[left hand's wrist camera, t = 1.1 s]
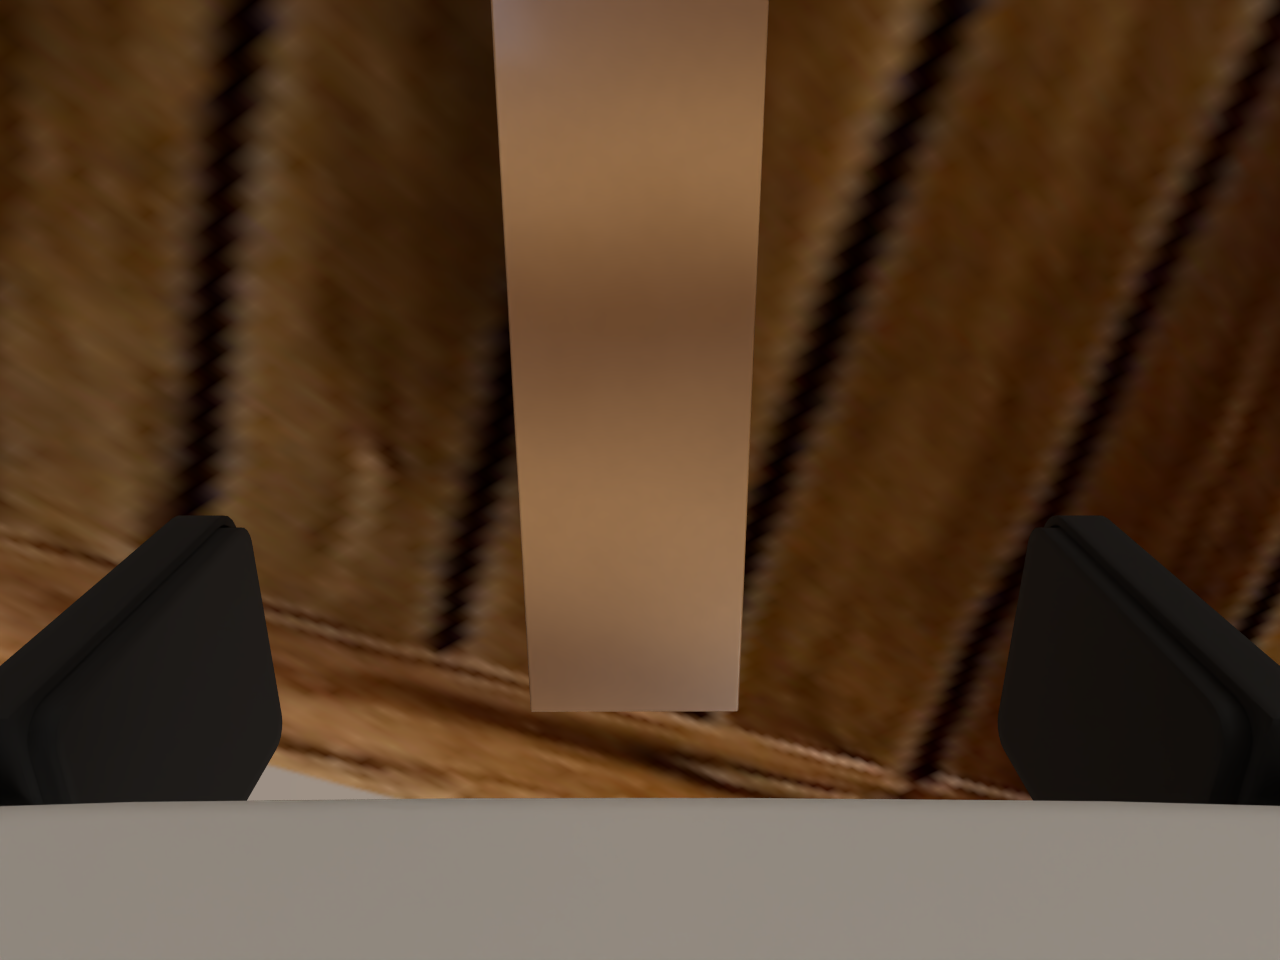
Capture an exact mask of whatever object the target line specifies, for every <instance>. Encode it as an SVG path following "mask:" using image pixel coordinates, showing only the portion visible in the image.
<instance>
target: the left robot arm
mask: <svg viewBox="0 0 1280 960" xmlns="http://www.w3.org/2000/svg"><path fill="white" fill-rule="evenodd" d="M281 731H282V714H281V708H280V702H279V697H278V691H277V685H276V679H275V673H274V668H273V662H272V656H271V650H270V645H269V639H268V633H267V627H266V621H265V616H264V610H263V604H262V598H261V593H260V587H259V581H258V575H257V570H256V564H255V558H254V552H253V546H252V541H251V538H250V535H249V533H248V531H247V530H246V529H245V528H236V526H235V524H234V522H233V520H232V519H230V518H229V517H228V516H176V517H174V518H173V519H171V520H170V521H169V522H168V523H167V524H165V525H164V526H163V527H162V528H161V529H160V530H158V531H157V532H156V533H155V534H154V535H153V536H151V537H150V538H149V539H148V540H147V541H146V542H144V543H143V544H142V545H141V546H140V547H139V548H137V549H136V550H135V551H134V552H133V553H132V554H130V555H129V556H128V557H127V558H126V559H125V560H123V561H122V562H121V563H120V564H119V565H118V566H116V567H115V568H114V569H113V570H112V571H111V572H109V573H108V574H107V575H106V576H105V577H104V578H102V579H101V580H100V581H99V582H98V583H97V584H95V585H94V586H93V587H92V588H91V589H90V590H88V591H87V592H86V593H85V594H84V595H83V596H81V597H80V598H79V599H78V600H77V601H76V602H74V603H73V604H72V605H71V606H70V607H69V608H67V609H66V610H65V611H64V612H63V613H62V614H60V615H59V616H58V617H57V618H56V619H55V620H53V621H52V622H51V623H50V624H49V625H48V626H46V627H45V628H44V629H43V630H42V631H41V632H39V633H38V634H37V635H36V636H35V637H34V638H32V639H31V640H30V641H29V642H28V643H27V644H25V645H24V646H23V647H22V648H21V649H20V650H18V651H17V652H16V653H15V654H14V655H13V656H11V657H10V658H9V659H8V660H7V661H6V662H4V663H3V664H2V665H1V666H0V960H1280V666H1279V665H1278V664H1277V663H1276V662H1274V661H1273V660H1272V659H1271V658H1270V657H1269V656H1267V655H1266V654H1265V653H1264V652H1263V651H1262V650H1260V649H1259V648H1258V647H1257V646H1256V645H1255V644H1253V643H1252V642H1251V641H1250V640H1249V639H1248V638H1246V637H1245V636H1244V635H1243V634H1242V633H1241V632H1239V631H1238V630H1237V629H1236V628H1235V627H1234V626H1232V625H1231V624H1230V623H1229V622H1228V621H1227V620H1225V619H1224V618H1223V617H1222V616H1221V615H1220V614H1218V613H1217V612H1216V611H1215V610H1214V609H1213V608H1211V607H1210V606H1209V605H1208V604H1207V603H1206V602H1204V601H1203V600H1202V599H1201V598H1200V597H1199V596H1197V595H1196V594H1195V593H1194V592H1193V591H1192V590H1190V589H1189V588H1188V587H1187V586H1186V585H1185V584H1183V583H1182V582H1181V581H1180V580H1179V579H1178V578H1176V577H1175V576H1174V575H1173V574H1172V573H1171V572H1169V571H1168V570H1167V569H1166V568H1165V567H1164V566H1162V565H1161V564H1160V563H1159V562H1158V561H1157V560H1155V559H1154V558H1153V557H1152V556H1151V555H1150V554H1148V553H1147V552H1146V551H1145V550H1144V549H1143V548H1141V547H1140V546H1139V545H1138V544H1137V543H1136V542H1134V541H1133V540H1132V539H1131V538H1130V537H1129V536H1127V535H1126V534H1125V533H1124V532H1123V531H1122V530H1120V529H1119V528H1118V527H1117V526H1116V525H1115V524H1113V523H1112V522H1111V521H1110V520H1109V519H1107V518H1106V517H1104V516H1052V517H1051V518H1050V519H1048V520H1047V522H1046V524H1045V526H1044V528H1035V529H1034V530H1033V531H1032V533H1031V535H1030V538H1029V541H1028V546H1027V552H1026V558H1025V564H1024V570H1023V575H1022V581H1021V587H1020V593H1019V598H1018V604H1017V610H1016V616H1015V621H1014V627H1013V633H1012V639H1011V645H1010V650H1009V656H1008V662H1007V668H1006V673H1005V679H1004V685H1003V691H1002V696H1001V702H1000V708H999V714H998V731H999V737H1000V741H1001V744H1002V746H1003V749H1004V751H1005V752H1006V754H1007V756H1008V758H1009V759H1010V761H1011V763H1012V764H1013V766H1014V768H1015V770H1016V771H1017V773H1018V775H1019V777H1020V778H1021V780H1022V782H1023V784H1024V785H1025V787H1026V789H1027V790H1028V792H1029V794H1030V796H1031V797H1032V799H1033V801H1011V800H895V799H779V798H462V799H368V800H277V801H276V800H275V801H247V799H248V797H249V796H250V794H251V792H252V790H253V789H254V787H255V785H256V784H257V782H258V780H259V778H260V776H261V775H262V773H263V771H264V770H265V768H266V766H267V764H268V763H269V761H270V759H271V758H272V756H273V754H274V752H275V751H276V749H277V746H278V744H279V741H280V737H281Z"/></svg>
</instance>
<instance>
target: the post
mask: <svg viewBox="0 0 1280 960" xmlns="http://www.w3.org/2000/svg"><path fill="white" fill-rule="evenodd" d="M490 2H491V19H492V37H493V54H494V72H495V90H496V107H497V125H498V142H499V160H500V177H501V195H502V213H503V230H504V248H505V265H506V283H507V300H508V318H509V336H510V353H511V371H512V388H513V406H514V423H515V441H516V459H517V476H518V494H519V511H520V529H521V546H522V564H523V582H524V599H525V617H526V634H527V652H528V669H529V687H530V705H531V711H533V712H583V711H738V706H739V683H740V659H741V636H742V613H743V589H744V566H745V543H746V520H747V496H748V473H749V450H750V426H751V403H752V380H753V357H754V333H755V310H756V287H757V263H758V240H759V217H760V194H761V170H762V147H763V124H764V100H765V77H766V54H767V31H768V7H769V0H490Z"/></svg>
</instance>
